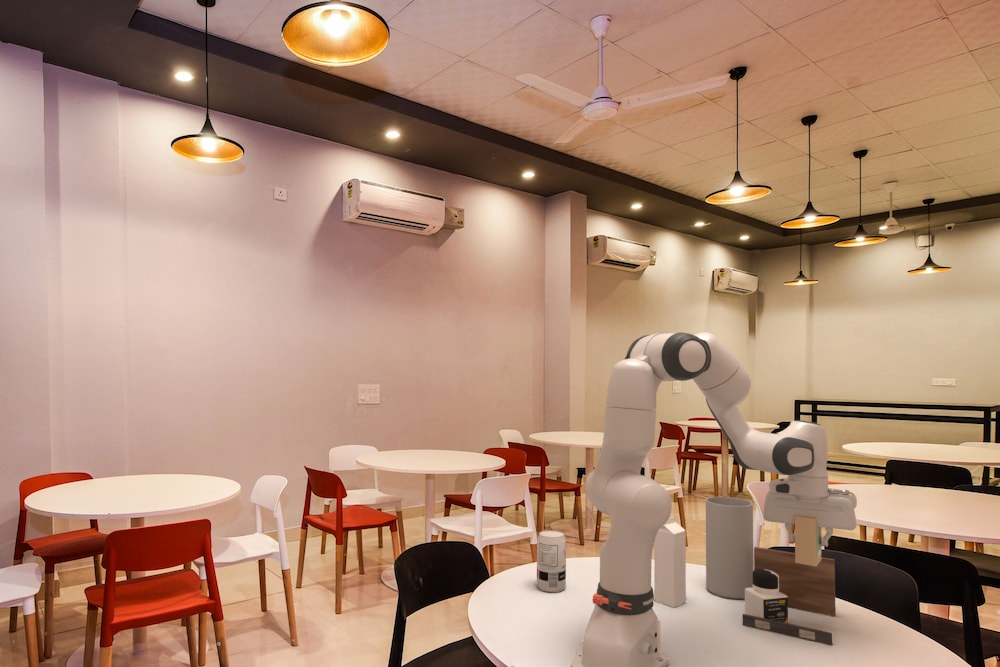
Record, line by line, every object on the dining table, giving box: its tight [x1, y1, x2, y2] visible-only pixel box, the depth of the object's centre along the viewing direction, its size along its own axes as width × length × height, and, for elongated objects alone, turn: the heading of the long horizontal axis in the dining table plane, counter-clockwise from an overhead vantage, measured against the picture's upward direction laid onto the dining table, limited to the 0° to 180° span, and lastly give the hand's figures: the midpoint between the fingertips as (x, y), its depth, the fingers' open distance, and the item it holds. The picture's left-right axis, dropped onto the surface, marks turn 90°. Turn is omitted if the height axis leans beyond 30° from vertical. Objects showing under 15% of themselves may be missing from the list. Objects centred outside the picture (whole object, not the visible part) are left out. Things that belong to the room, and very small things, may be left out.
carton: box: [794, 516, 823, 567], centre depth 145 cm, size 5×7×11 cm
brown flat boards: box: [742, 546, 837, 646], centre depth 147 cm, size 20×19×14 cm
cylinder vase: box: [705, 496, 754, 600], centre depth 166 cm, size 12×12×25 cm
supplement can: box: [536, 529, 567, 593], centre depth 167 cm, size 8×8×15 cm
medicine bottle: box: [744, 569, 789, 623], centre depth 146 cm, size 7×7×12 cm
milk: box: [653, 516, 687, 608], centre depth 158 cm, size 6×6×22 cm
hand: (808, 543), depth 145 cm, fingers closed on carton, 5 cm apart
